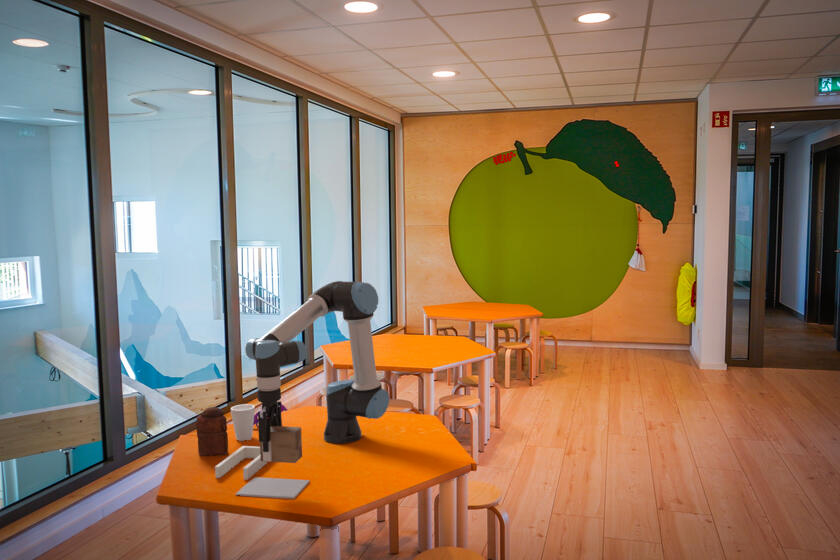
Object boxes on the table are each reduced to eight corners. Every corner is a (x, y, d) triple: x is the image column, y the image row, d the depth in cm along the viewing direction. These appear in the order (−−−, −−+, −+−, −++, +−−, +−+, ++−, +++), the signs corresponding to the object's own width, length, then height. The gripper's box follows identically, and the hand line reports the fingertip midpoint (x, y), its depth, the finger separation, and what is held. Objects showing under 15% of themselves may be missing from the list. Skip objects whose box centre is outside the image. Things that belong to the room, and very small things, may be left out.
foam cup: (259, 435, 282) (257, 404, 280) (251, 442, 272) (250, 410, 271) (237, 434, 283) (235, 404, 281) (228, 442, 273) (227, 410, 272)
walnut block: (268, 454, 228) (267, 425, 227) (302, 456, 225) (301, 427, 224) (260, 461, 222) (259, 431, 221) (295, 463, 219) (294, 432, 218)
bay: (273, 457, 254) (272, 447, 254) (247, 479, 233) (247, 468, 233) (243, 456, 257) (242, 445, 256) (215, 477, 236) (214, 466, 235)
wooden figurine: (230, 449, 264) (228, 404, 263) (227, 455, 258) (225, 409, 256) (199, 451, 263) (197, 405, 262) (195, 457, 257) (193, 410, 255)
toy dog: (288, 427, 291) (287, 403, 290) (245, 430, 288) (243, 406, 287) (288, 424, 295) (287, 401, 294) (245, 427, 292) (244, 404, 291)
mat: (309, 482, 230) (309, 480, 230) (294, 499, 216) (293, 497, 216) (254, 478, 234) (254, 477, 234) (235, 495, 220) (235, 493, 220)
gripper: (270, 381, 232) (272, 447, 234) (245, 395, 213) (248, 466, 215) (290, 381, 231) (293, 448, 233) (267, 396, 212) (270, 468, 214)
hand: (271, 457), depth 224 cm, fingers closed on walnut block, 6 cm apart
